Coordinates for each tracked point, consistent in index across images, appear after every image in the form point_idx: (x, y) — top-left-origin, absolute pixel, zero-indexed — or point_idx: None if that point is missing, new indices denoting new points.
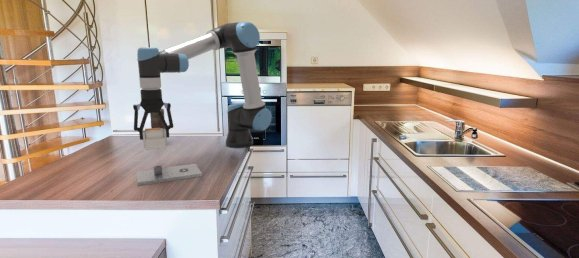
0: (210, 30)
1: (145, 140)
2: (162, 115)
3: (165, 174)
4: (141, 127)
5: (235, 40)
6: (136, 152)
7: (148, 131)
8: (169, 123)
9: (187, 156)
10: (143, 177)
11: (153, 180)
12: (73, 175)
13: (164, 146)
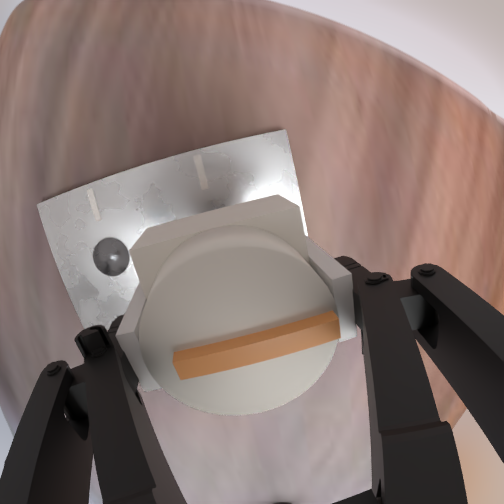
0: None
1: (301, 232)
2: (101, 482)
3: (180, 212)
4: (384, 297)
5: None
6: (331, 461)
7: (292, 261)
8: (88, 427)
9: (156, 431)
10: (272, 189)
11: (221, 143)
12: (470, 284)
13: (150, 229)
